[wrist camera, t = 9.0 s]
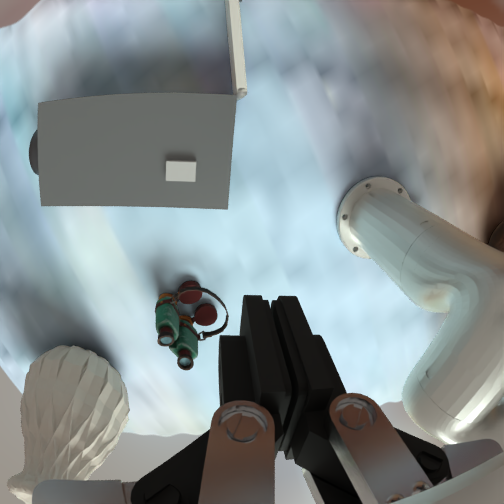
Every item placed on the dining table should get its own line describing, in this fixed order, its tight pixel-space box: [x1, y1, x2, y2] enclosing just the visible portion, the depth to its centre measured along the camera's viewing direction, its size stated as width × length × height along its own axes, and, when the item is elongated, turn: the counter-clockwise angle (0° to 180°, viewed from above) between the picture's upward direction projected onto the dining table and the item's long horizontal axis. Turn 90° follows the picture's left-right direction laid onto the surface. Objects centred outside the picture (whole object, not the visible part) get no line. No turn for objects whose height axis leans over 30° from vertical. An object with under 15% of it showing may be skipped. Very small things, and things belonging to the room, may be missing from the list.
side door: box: [225, 0, 247, 101], centre depth 29 cm, size 14×2×7 cm, turn 4°
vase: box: [7, 345, 130, 504], centre depth 37 cm, size 20×20×30 cm
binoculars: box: [155, 281, 229, 370], centre depth 42 cm, size 9×11×10 cm
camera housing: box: [29, 93, 237, 210], centre depth 32 cm, size 24×12×9 cm, turn 84°
